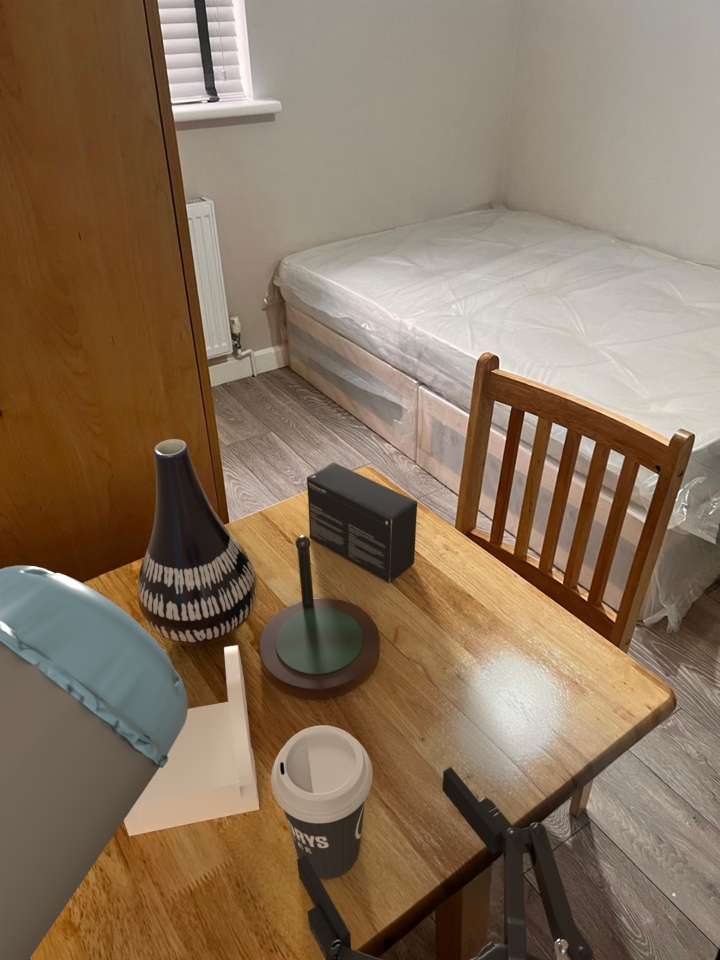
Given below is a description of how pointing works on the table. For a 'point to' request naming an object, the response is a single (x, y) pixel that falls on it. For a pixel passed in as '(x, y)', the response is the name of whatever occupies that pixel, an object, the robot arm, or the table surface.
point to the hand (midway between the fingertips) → (377, 819)
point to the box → (362, 521)
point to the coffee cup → (324, 796)
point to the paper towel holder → (318, 642)
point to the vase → (192, 560)
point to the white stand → (204, 765)
